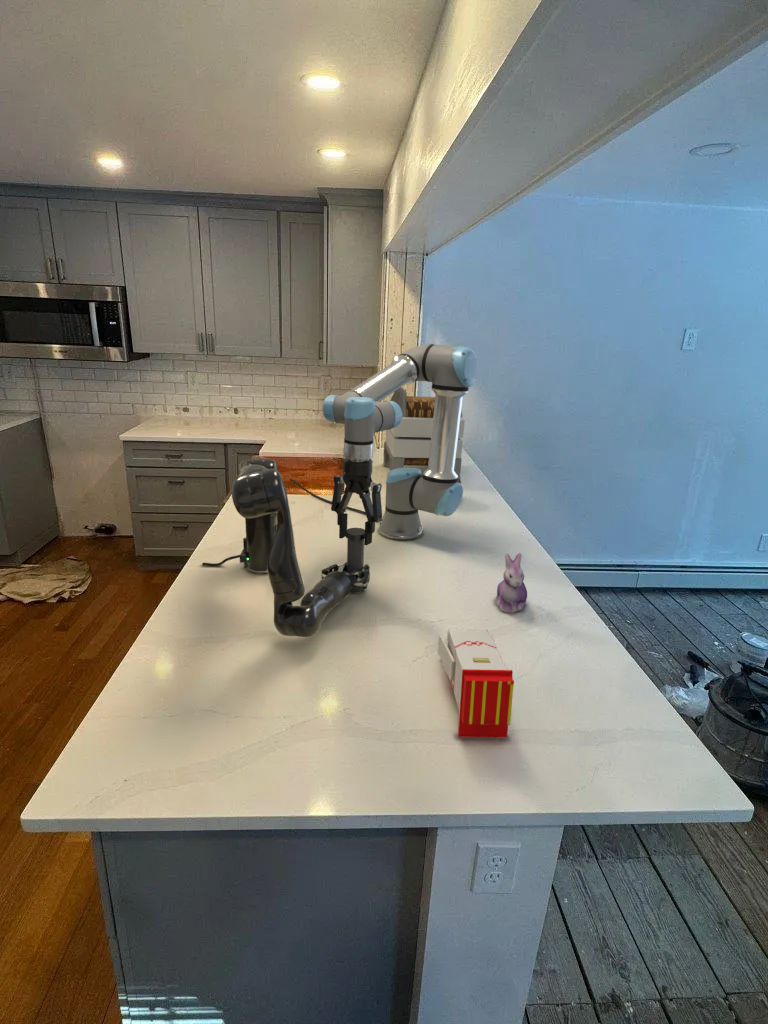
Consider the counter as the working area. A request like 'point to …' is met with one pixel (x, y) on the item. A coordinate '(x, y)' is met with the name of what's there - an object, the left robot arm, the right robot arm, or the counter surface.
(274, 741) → the counter surface
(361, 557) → the dark grey cylinder
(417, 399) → the white wooden crate
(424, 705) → the counter surface
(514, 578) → the figurine
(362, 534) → the lid
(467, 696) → the toy
